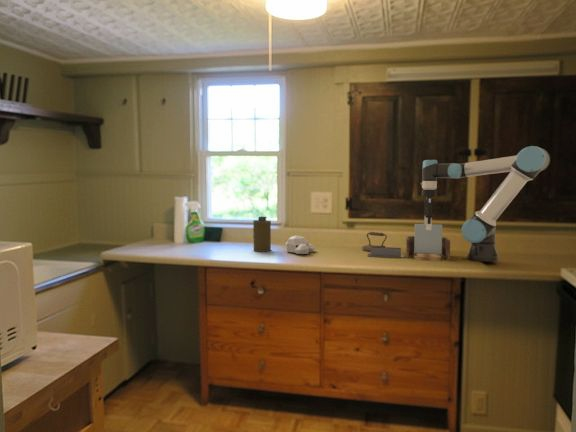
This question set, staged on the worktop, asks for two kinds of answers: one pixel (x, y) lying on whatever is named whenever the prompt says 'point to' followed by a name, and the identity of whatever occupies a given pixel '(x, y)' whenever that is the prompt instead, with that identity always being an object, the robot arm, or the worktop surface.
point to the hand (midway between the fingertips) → (427, 228)
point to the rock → (299, 245)
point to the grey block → (386, 252)
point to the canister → (262, 234)
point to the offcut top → (428, 255)
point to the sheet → (428, 239)
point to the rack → (411, 251)
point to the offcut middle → (426, 258)
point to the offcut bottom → (429, 259)
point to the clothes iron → (368, 247)
